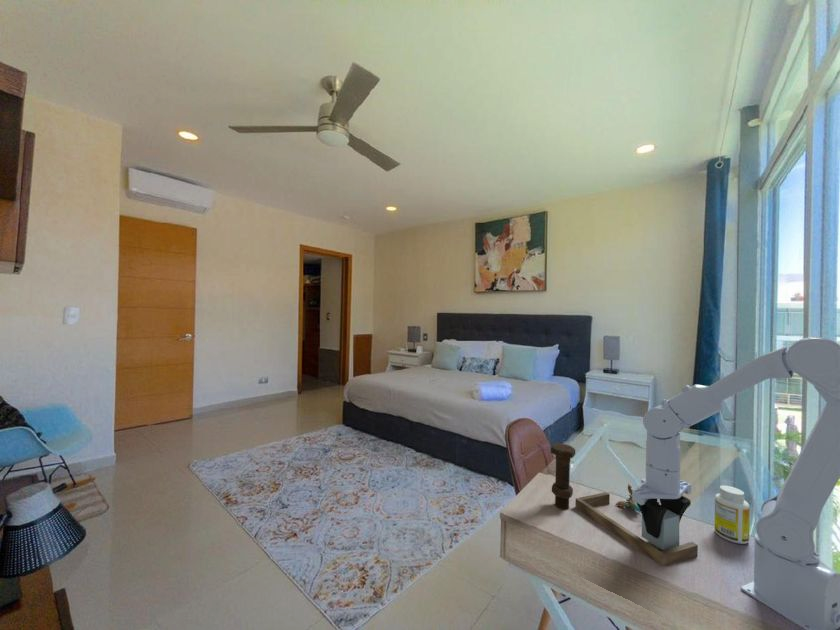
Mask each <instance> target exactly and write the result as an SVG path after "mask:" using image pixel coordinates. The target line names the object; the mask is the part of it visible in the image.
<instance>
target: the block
mask: <svg viewBox="0 0 840 630" xmlns="http://www.w3.org/2000/svg"><path fill="white" fill-rule="evenodd" d="M641 538H643V539H645V540H646V541H647V542H648V543H649V542H650V543H651V545H652V544H653V545H654V546H656V548H658V549H660V550H661V551H664V550H667V549H671V548H674V547H677V546H680V523H679V515H677V514H675V513H673V512H671V511H669V510H667V511H666V513H665V514H664V517H663V520H662V524H661V532H660V536H659V538H655V537H653V536H652V535H650V534H648V533H647V531H646V527H645V523H644V519H643V516H642V515H641Z"/></svg>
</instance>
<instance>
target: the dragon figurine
mask: <svg viewBox="0 0 840 630" xmlns="http://www.w3.org/2000/svg"><path fill="white" fill-rule="evenodd" d="M627 490H628V492H629V495H628V496H629V498H628V499H625V501H624V500H620V501H618V502H616V503H615V506H617V508H619V507H620V506H621V507H622V509H624V508H625V507H626V508H627V507H628V506H630V507H631V508H632V509H633V510H635V511H636V512H638V513H640V514H642V513H641V511H640V509H639V507H638V505H637V503H636V502H635V501H633V500H632V491H633V489H632V486H631V485H630V484H627Z"/></svg>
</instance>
